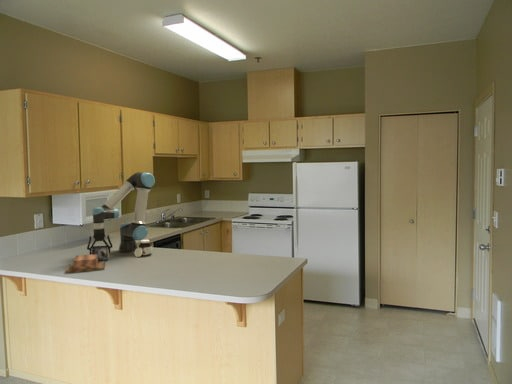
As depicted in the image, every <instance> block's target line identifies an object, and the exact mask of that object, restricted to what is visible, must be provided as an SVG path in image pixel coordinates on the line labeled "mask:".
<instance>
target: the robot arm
mask: <svg viewBox="0 0 512 384" xmlns="http://www.w3.org/2000/svg"><path fill="white" fill-rule="evenodd" d="M155 183H156V179H155V176H154V175H153V174H152V173H150V172H146V171H145V172H140V171H139V172H135V173H133V174H131V175H130V176H129V177H128V178H127V179H126V180H125V181H124V184H123V185H122V186H121V187H119V189H118V190H116V192H115V193H114V194H112V196H110V198H109V199H108V200H107V201H106V202H105V203H104V204H102V206H100V207H98V206H97V207H94V208H93V209H92V222H93V235H89V240H88V244H87V246H86V250H88V251H89V255H92V247H93V246H95V244H96V242H103V243H104V245H105V246H107V247H108V249H107V251H108V259H109V258H110V253H111V249H112V248H113V244H112V240H111V238H110V234H105V233H106V232H105V221H106V220H113V219H114V220H115V219H118V218H119V216H120V210H119V209H118V208H116V206H117V205H118V204H120V202H122V200H124V198H125V197H126V196H127V195H128V194H129V193H130V192H131V191H134V190H135V189H136V190H137V194H136V200H135V206H134V213H133V219H132V221H130V222H125V223H124V222H122V223H121V224H119V235H120V236H119V237H120V243H119V246H118V252H119V253H133V252H134V253H135V250H136V249H137V248H138V247H139V245H138V244H137V241H141V240H145V239H146V237H147V235H148V232H149V231H148V228H147V223H146V222H145V218H146V213H147V207H148V198H149V192H151V191H152V187H153V186H154V185H155ZM105 238H106V239H107V241H108V242H107V241H106V240H105ZM92 239H94V241H93V242H92ZM91 242H92V243H91Z"/></svg>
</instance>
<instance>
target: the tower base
mask: <svg viewBox="0 0 512 384" xmlns="http://www.w3.org/2000/svg"><path fill="white" fill-rule="evenodd" d="M106 263H107V261H98V254H92V255H91V254H82V255H76V256H75V258H74V260H73V263H70V264H68V266H67V268H66V269H65V274H73V273H82V272H83V273H84V272H93V271H95V272H96V271H105V268H106Z"/></svg>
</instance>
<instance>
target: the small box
mask: <svg viewBox="0 0 512 384" xmlns="http://www.w3.org/2000/svg"><path fill="white" fill-rule="evenodd" d="M107 249H108V247H107V246H106V245H94V246H93V247H92V249H91V250H92V254H98V262H102V261H106V262H108V260H109V258H108V251H107Z"/></svg>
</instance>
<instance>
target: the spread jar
mask: <svg viewBox="0 0 512 384" xmlns="http://www.w3.org/2000/svg"><path fill="white" fill-rule="evenodd" d="M139 241H140V243H139V244H138V248H137V249H136V250H135V251H134V256H135V257H136V258H140V257H149V256H151V255H152V254H153V245H152V243H151V242H150V240H149V239H143V240H139ZM148 255H149V256H148Z"/></svg>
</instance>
